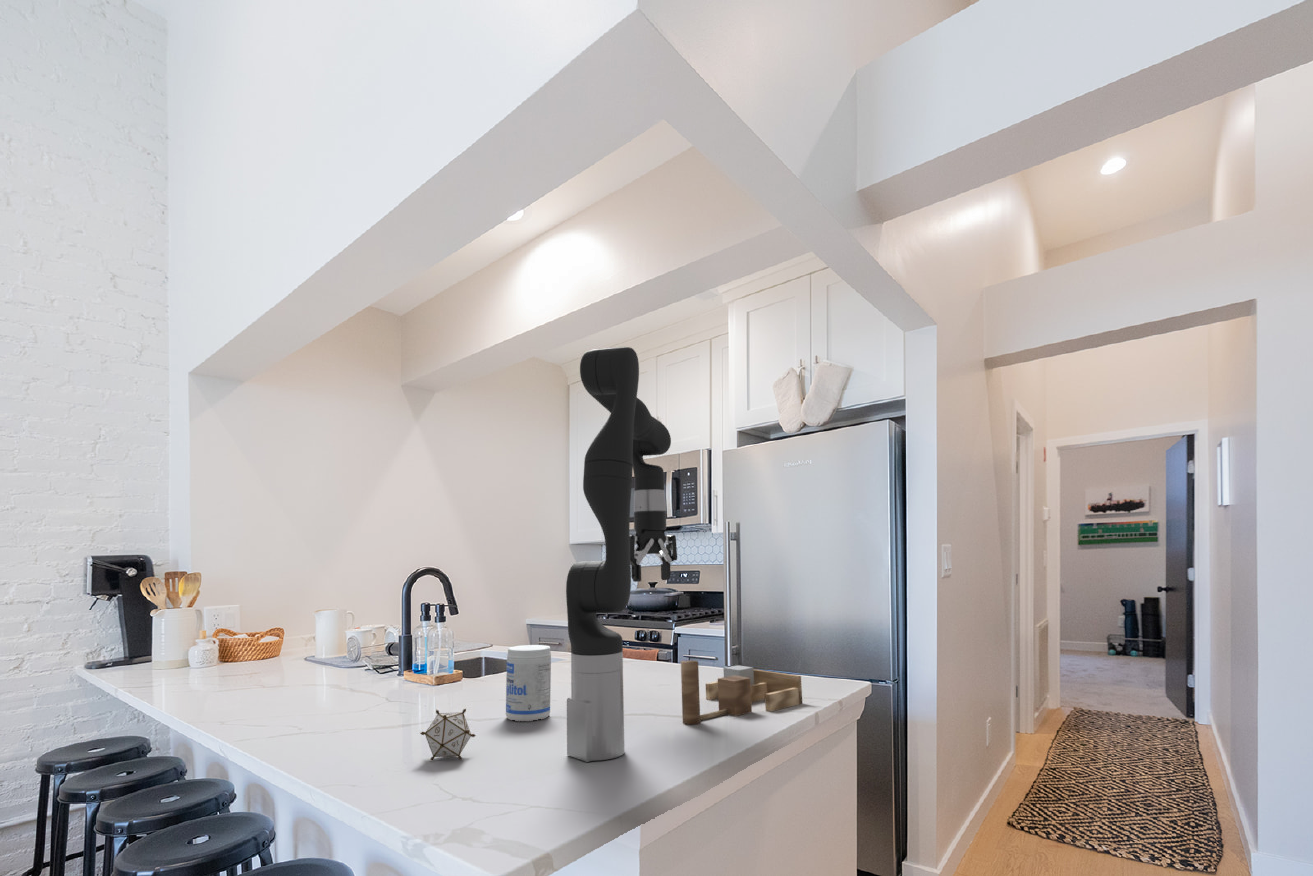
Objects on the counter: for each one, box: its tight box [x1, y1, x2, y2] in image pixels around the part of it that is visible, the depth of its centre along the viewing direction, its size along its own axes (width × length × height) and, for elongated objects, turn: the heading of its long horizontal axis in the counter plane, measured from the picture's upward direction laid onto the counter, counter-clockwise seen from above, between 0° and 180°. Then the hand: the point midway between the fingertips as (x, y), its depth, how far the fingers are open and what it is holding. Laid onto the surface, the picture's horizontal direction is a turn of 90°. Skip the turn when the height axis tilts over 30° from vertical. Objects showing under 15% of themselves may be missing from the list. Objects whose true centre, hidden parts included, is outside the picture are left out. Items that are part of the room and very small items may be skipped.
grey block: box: [723, 664, 754, 685], centre depth 167 cm, size 5×5×7 cm
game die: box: [419, 708, 477, 761], centre depth 124 cm, size 9×8×10 cm
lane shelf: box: [705, 668, 803, 712], centre depth 163 cm, size 11×20×6 cm, turn 40°
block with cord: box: [680, 659, 753, 726], centre depth 149 cm, size 17×5×12 cm, turn 130°
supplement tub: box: [505, 644, 552, 722], centre depth 154 cm, size 10×10×15 cm
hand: (651, 580), depth 162 cm, fingers open, 8 cm apart
